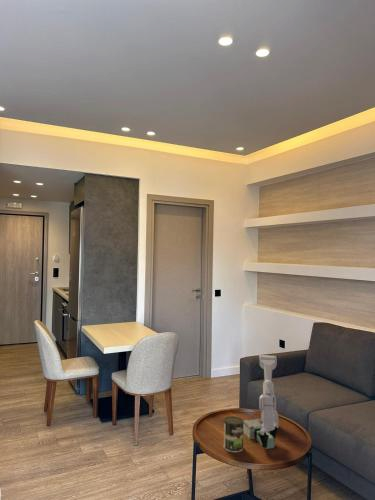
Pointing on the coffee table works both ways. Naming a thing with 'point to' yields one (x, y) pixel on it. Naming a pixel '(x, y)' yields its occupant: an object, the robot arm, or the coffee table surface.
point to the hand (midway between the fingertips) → (268, 444)
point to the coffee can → (233, 434)
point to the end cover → (269, 443)
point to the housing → (252, 427)
